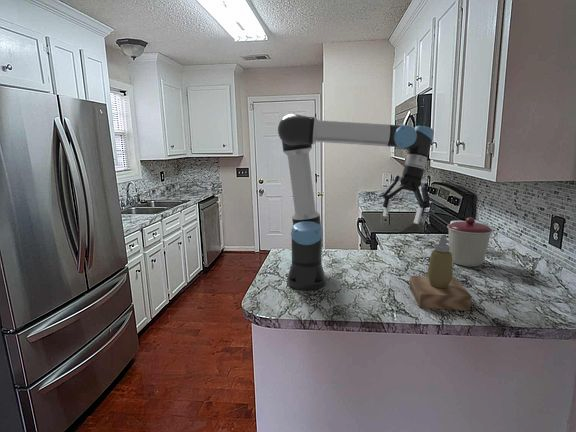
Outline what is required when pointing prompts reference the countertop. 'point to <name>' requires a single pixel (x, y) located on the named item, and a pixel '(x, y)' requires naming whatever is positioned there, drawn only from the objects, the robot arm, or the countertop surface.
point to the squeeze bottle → (440, 265)
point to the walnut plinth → (440, 294)
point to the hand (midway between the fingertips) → (400, 220)
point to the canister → (468, 242)
